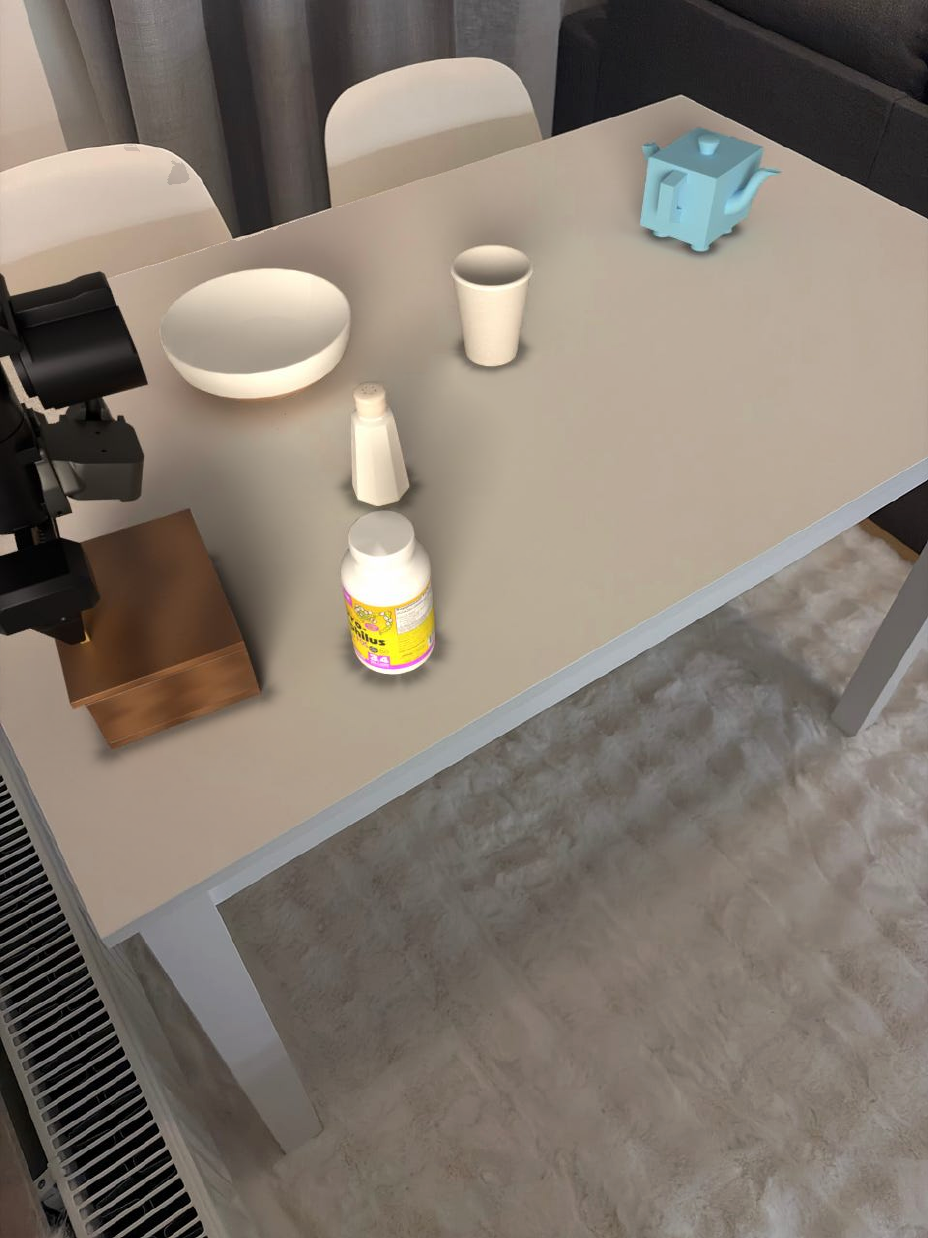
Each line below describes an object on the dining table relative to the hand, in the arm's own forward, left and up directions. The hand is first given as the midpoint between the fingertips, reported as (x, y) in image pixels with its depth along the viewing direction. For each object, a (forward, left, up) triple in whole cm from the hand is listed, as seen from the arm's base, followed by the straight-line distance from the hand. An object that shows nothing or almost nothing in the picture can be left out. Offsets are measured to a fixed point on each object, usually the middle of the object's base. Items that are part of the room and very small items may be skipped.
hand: (67, 596), depth 66 cm
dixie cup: (+47, +25, -9) cm, 54 cm away
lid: (+4, 0, -3) cm, 5 cm away
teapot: (+81, +36, -9) cm, 89 cm away
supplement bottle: (+22, -8, -9) cm, 25 cm away
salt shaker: (+28, +10, -9) cm, 31 cm away
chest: (+5, 0, -9) cm, 10 cm away
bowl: (+24, +33, -9) cm, 42 cm away
